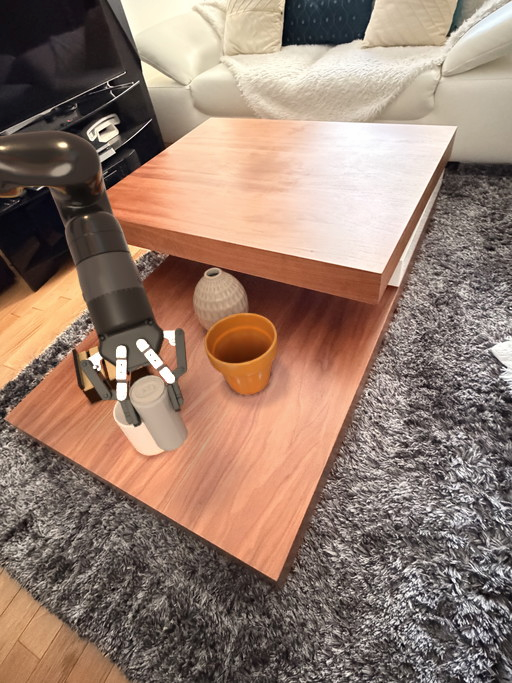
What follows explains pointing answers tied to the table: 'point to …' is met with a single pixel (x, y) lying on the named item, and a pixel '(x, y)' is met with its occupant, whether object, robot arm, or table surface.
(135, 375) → the rack
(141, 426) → the mug
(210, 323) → the vase
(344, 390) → the table surface
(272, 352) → the flower pot
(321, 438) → the table surface
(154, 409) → the beverage can
